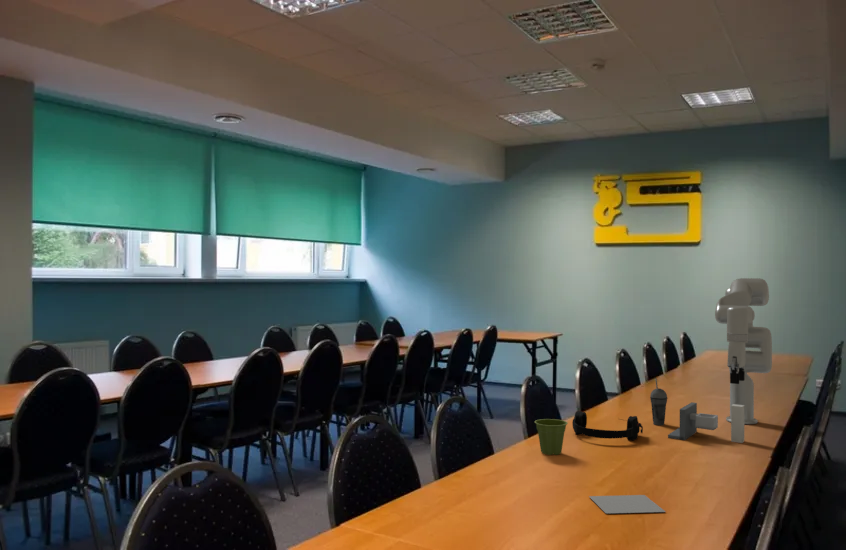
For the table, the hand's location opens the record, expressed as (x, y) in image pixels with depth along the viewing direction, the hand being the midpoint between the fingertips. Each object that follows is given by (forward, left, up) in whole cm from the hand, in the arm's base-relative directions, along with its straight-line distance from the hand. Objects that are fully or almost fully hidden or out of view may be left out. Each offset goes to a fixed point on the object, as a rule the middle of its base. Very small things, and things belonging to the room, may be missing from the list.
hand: (737, 382), depth 259 cm
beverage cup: (-12, -34, -23) cm, 43 cm away
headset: (+22, -44, -24) cm, 54 cm away
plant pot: (+60, -51, -23) cm, 82 cm away
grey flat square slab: (+92, -10, -24) cm, 95 cm away
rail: (0, 0, -23) cm, 23 cm away
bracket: (+2, -15, -23) cm, 28 cm away
